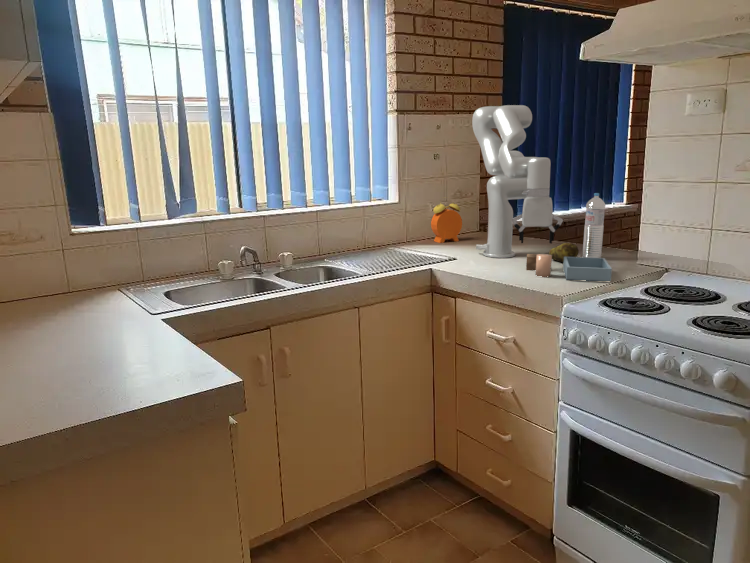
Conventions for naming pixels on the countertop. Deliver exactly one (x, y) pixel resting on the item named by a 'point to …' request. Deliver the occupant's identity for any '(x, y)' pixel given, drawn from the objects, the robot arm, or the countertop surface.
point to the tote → (587, 269)
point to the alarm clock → (446, 223)
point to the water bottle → (594, 227)
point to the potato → (564, 251)
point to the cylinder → (543, 265)
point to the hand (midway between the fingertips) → (536, 242)
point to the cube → (531, 262)
